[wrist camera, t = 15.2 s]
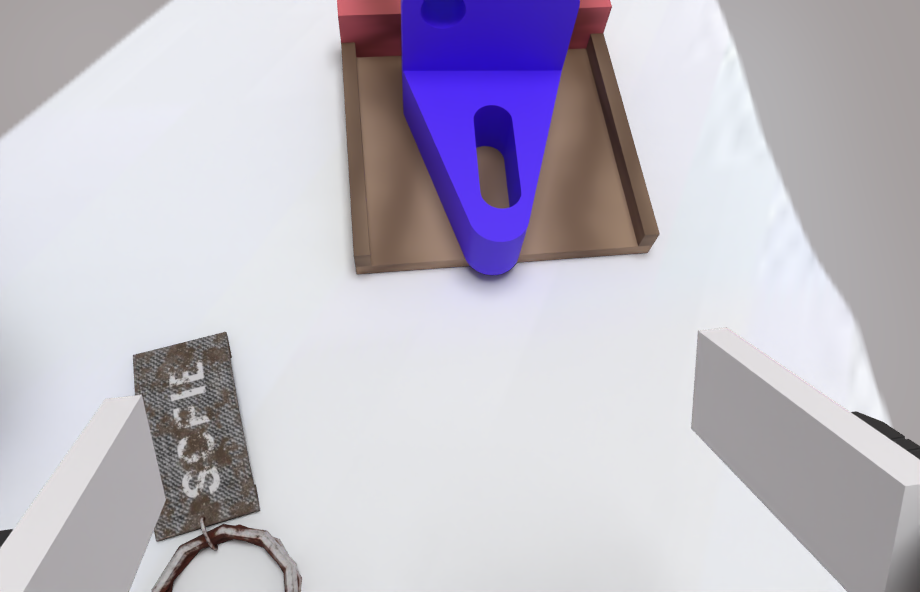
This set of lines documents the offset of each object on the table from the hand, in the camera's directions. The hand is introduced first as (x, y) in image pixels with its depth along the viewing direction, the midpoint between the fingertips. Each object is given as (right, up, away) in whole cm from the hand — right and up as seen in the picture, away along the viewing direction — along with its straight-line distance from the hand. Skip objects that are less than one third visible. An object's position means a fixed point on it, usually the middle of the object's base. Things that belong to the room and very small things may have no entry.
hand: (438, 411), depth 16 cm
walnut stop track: (+2, +14, +34) cm, 37 cm away
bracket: (+2, +12, +32) cm, 35 cm away
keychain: (-13, -9, +23) cm, 28 cm away
